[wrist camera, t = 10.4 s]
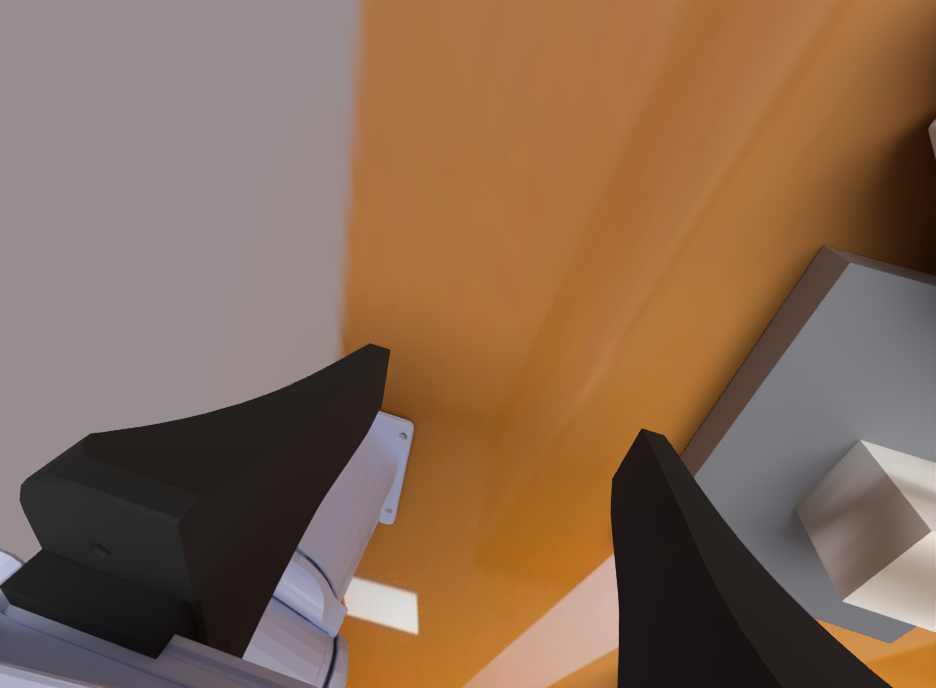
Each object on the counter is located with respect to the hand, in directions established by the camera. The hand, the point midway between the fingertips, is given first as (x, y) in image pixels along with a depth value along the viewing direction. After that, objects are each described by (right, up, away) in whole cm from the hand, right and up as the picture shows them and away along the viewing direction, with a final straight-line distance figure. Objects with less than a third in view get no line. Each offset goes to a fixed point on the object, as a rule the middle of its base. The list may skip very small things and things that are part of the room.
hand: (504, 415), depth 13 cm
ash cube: (+17, -4, +7) cm, 19 cm away
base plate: (+17, -4, +9) cm, 20 cm away
